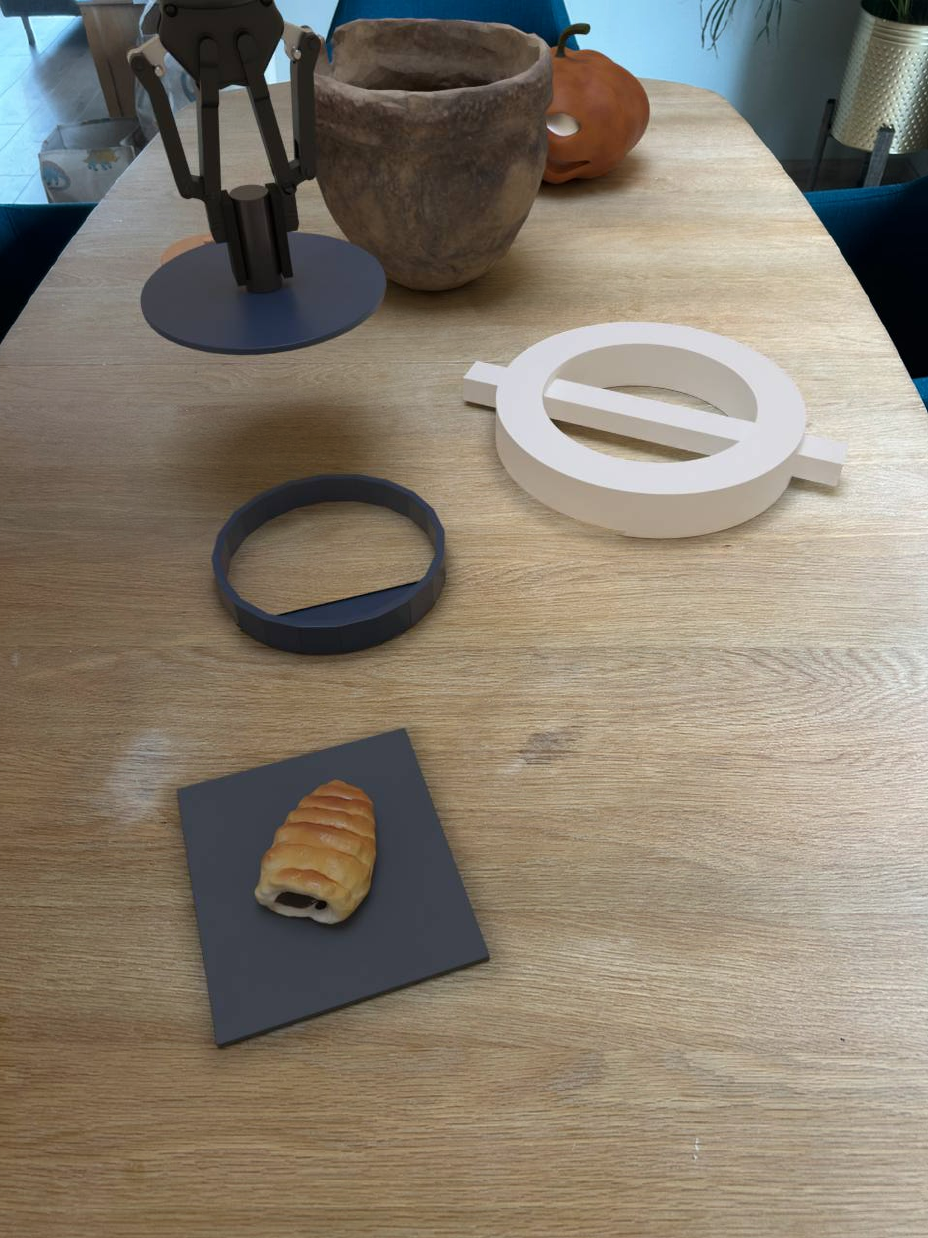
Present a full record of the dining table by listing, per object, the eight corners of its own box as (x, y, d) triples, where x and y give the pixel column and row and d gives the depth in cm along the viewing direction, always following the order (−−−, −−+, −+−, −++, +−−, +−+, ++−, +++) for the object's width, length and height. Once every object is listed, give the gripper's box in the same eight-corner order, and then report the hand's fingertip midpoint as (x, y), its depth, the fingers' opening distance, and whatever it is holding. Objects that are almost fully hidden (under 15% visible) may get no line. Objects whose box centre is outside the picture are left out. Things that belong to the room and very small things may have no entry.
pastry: (301, 788, 67) (294, 754, 64) (398, 805, 66) (395, 771, 63) (252, 915, 61) (241, 883, 58) (359, 936, 60) (353, 904, 57)
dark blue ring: (204, 527, 87) (197, 500, 85) (409, 483, 91) (407, 455, 89) (240, 680, 75) (233, 652, 72) (476, 621, 78) (475, 592, 76)
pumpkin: (430, 167, 142) (424, 17, 129) (553, 122, 154) (559, -20, 140) (556, 221, 129) (565, 60, 115) (680, 167, 140) (701, 15, 127)
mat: (178, 793, 68) (176, 788, 67) (405, 731, 71) (404, 727, 71) (218, 1048, 55) (216, 1045, 55) (489, 960, 59) (489, 956, 59)
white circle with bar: (453, 396, 101) (452, 354, 97) (696, 341, 107) (703, 300, 104) (572, 572, 82) (576, 527, 79) (857, 492, 89) (872, 448, 86)
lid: (130, 266, 86) (103, 163, 80) (352, 229, 91) (342, 129, 85) (160, 383, 73) (130, 270, 67) (417, 334, 78) (411, 224, 71)
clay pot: (287, 316, 113) (250, 74, 95) (369, 221, 130) (351, 1, 112) (512, 349, 107) (517, 99, 89) (566, 245, 124) (580, 17, 106)
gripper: (79, -49, 60) (168, 313, 76) (340, -74, 63) (371, 277, 80) (70, -75, 65) (155, 270, 81) (313, -97, 68) (347, 238, 85)
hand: (262, 273), depth 81 cm, fingers closed on lid, 3 cm apart
